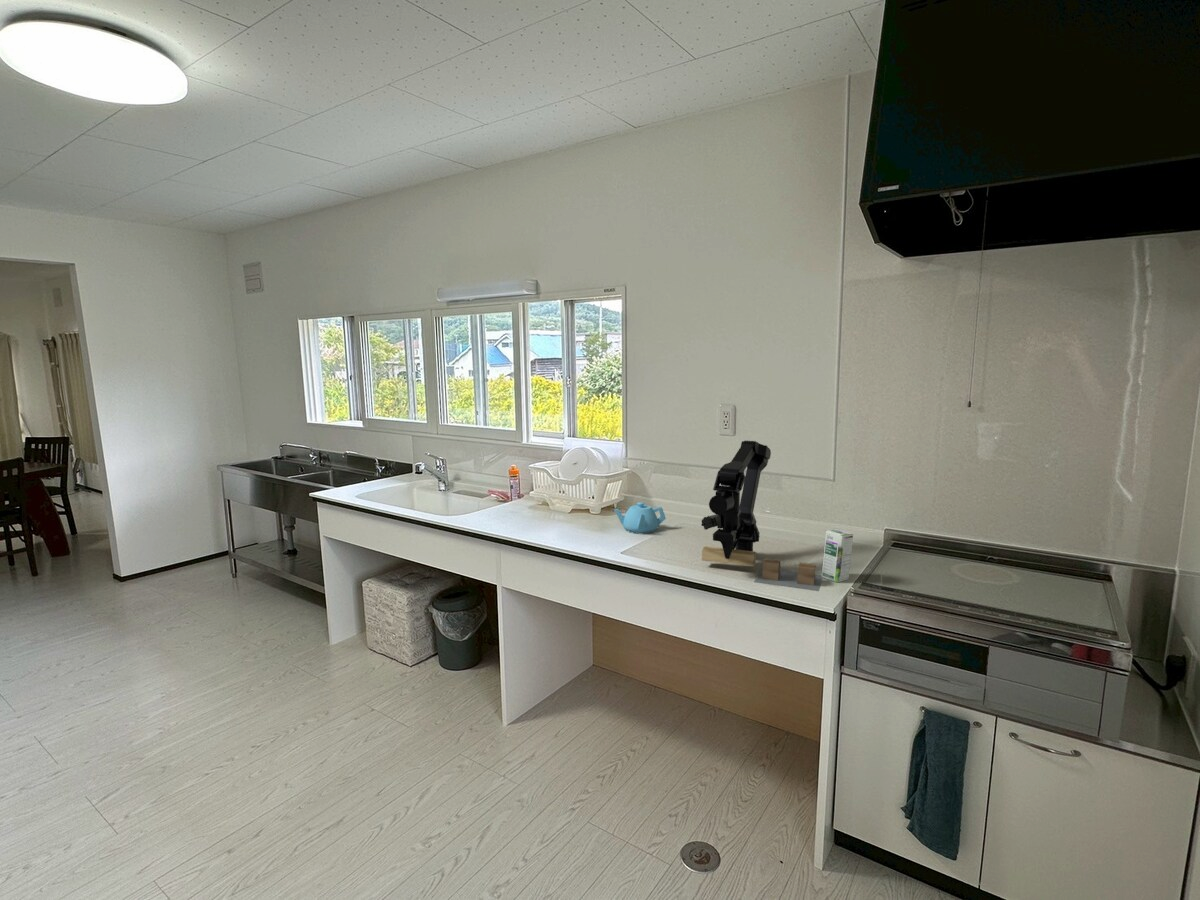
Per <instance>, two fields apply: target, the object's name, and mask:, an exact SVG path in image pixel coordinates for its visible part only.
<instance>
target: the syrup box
mask: <svg viewBox="0 0 1200 900" xmlns="http://www.w3.org/2000/svg"><path fill="white" fill-rule="evenodd" d="M824 537H825V539H824V549H823V550H824V551H823V558H822V559H823V560H822V569H821V575H822V579H827V580H829V581H831V582H834V583H841V582H843V581H847V580H849V575H850V568H851V559H852V548H853V539H854V533H853V532H852V533H851V532H848V531H844V530H841V529H838V528H834V529H832V528H831V529H829V530H826V532H825V536H824Z"/></svg>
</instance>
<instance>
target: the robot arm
mask: <svg viewBox="0 0 1200 900" xmlns="http://www.w3.org/2000/svg"><path fill="white" fill-rule="evenodd" d="M771 454H772V452H771V449H770V447H769V446H768V445H767V444H766V445H765V444H762V443H759V442H758V441H756V440H743V441H741V444H740V447H739V448H738V450H737V452H736V453H735V455H734V456H733V458H732V459H731V461H730V462H727V463H725V464H723V465H722V466H721V467H720V468H719V470H718V471H717V473H716V474H717V475H716V478H715V481H714V484H713V485H714V486H713V488H712V490H713V491H715V495H714V496H712V497H711V498H710V500H709V502H708V506H709V509H710V511H711V512H712V513H713V514H711V515H708V516H704V517H702V519H701V526H702V527H703V529H704V530H705V531H706V530H709V529H711V528H717V530H715V531H714V532H713V533H712V540H713V542H720V543H721V548H723V551H724V555H725V558H726V559H729V558H730V555H731V553H732V550H733V549H736V550H745V551H753V552H754V543H757V542H760V534H761V533H760V531H759V529H758V526H757V519H756V517H755V515H754V510H755V509H754V508H755V504H756V499H757V493H758V488H759V483H760V478H761V473H762V471H763V470H764V469H765V468H766V467H767V466H768V463H769V460H770V459H771V456H772V455H771ZM745 470H746V471H745ZM741 491H742V492H741Z"/></svg>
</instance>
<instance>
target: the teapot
mask: <svg viewBox="0 0 1200 900" xmlns="http://www.w3.org/2000/svg"><path fill="white" fill-rule="evenodd" d="M613 510H614V512H615V514H616V516H617V517H618V520H619V522H620V523H621V526H623V527H622V528H624V530H625V531H626V532H628V531H629V533H631V532H633V533H632V534H639V533H643V534H650V532H651V533H653V531H654V532H656V530H657V529H658V527H659V525H661V524H662V523H663V522H664V521H665V520H666V519H667V518H666V515H665V512H664V509H663V506H659V507H653V508H652V506H650V505H646V504H645V502H641V501H639V502H636V504H634V505H631V506H629V507H628V510H627V511H626V513H625V515H623V514H622V512H621V511H620V510H619V508H614V509H613ZM656 512H659V517H658V516H657V514H656Z"/></svg>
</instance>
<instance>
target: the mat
mask: <svg viewBox="0 0 1200 900" xmlns="http://www.w3.org/2000/svg"><path fill="white" fill-rule="evenodd" d="M762 575H763V567H761V569H760V571H759V573H758V574H757V577H755V580H754V583H755V584H756V583H757V584H765V585H770V586H772V585H773V586H778V587H784V588H785V587H786V588H793V589H799V590H800V589H801V590H807V591H816V592H819V591H820V589H821V584H822V581H823V578H822V574H816V573H815V582H814V586H812V585H804V584H797V579H798V571H792V570H791V571H790V570H784V569H780V577H779V580H778V581H775V580H767V579H762Z"/></svg>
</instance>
